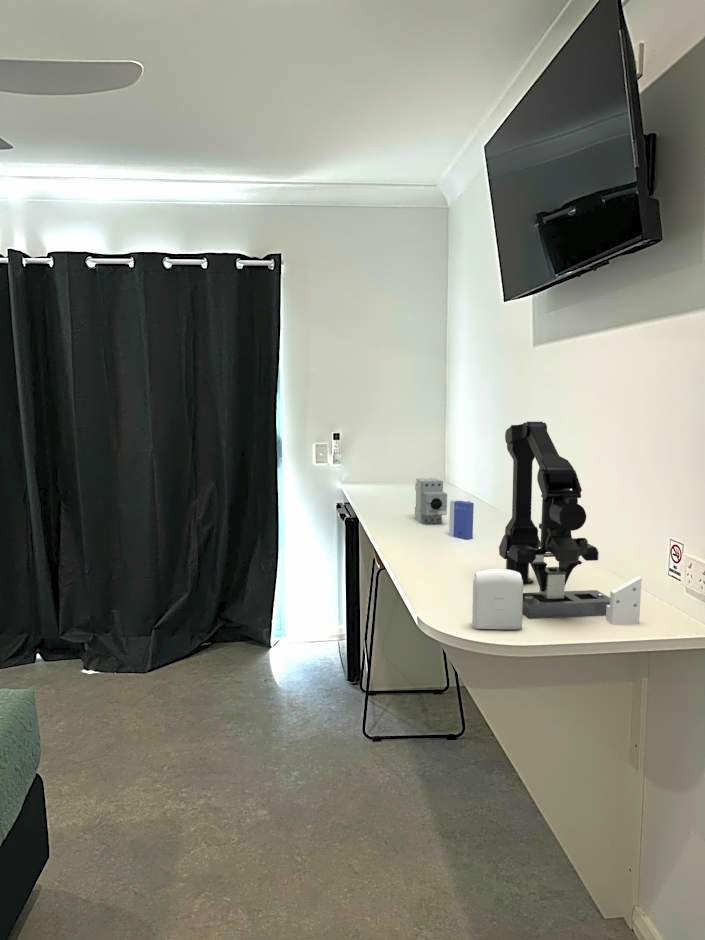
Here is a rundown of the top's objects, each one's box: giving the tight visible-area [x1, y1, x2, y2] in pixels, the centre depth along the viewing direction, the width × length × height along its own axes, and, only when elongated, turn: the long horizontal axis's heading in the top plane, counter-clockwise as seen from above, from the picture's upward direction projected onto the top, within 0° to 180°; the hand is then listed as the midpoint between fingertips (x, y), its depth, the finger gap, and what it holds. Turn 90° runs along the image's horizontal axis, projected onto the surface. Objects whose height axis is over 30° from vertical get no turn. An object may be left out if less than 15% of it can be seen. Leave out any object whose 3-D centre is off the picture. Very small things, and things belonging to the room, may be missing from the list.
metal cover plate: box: [522, 589, 610, 620], centre depth 169 cm, size 9×20×3 cm, turn 100°
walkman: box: [448, 499, 474, 541], centre depth 245 cm, size 8×3×12 cm, turn 39°
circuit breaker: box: [414, 477, 448, 525], centre depth 269 cm, size 8×14×15 cm, turn 14°
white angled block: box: [605, 575, 643, 625], centre depth 161 cm, size 4×10×9 cm, turn 92°
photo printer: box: [471, 568, 524, 630], centre depth 156 cm, size 10×4×12 cm, turn 88°
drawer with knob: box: [539, 566, 567, 599], centre depth 168 cm, size 4×4×6 cm
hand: (551, 590), depth 168 cm, fingers closed on drawer with knob, 4 cm apart
